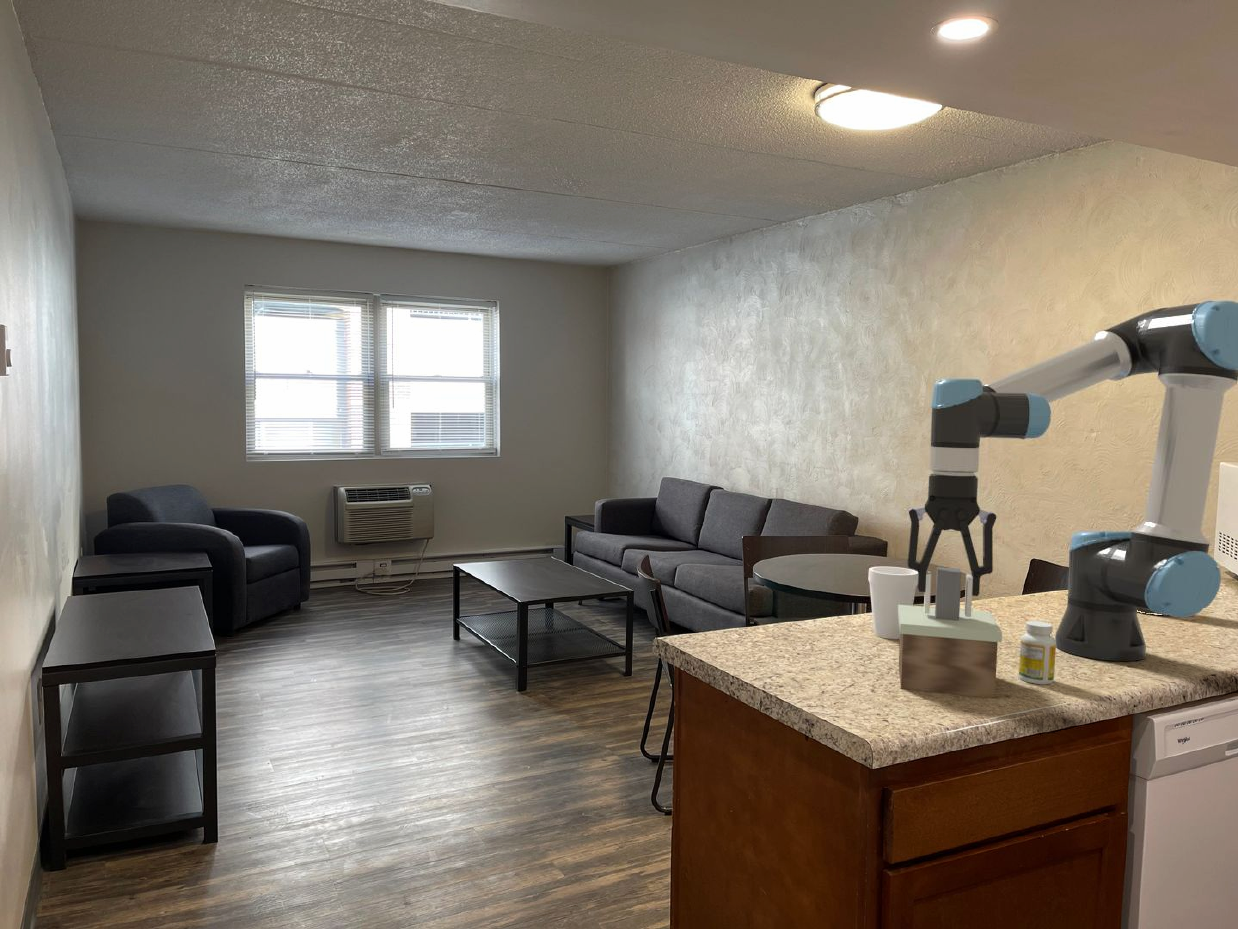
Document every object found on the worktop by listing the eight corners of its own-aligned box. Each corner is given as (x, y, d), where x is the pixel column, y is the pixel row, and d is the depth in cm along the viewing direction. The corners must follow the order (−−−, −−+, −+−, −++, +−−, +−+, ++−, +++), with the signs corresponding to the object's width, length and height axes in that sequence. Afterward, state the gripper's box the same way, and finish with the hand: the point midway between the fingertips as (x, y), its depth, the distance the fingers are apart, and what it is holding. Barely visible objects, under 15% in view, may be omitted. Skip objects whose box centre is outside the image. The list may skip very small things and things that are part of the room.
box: (984, 673, 151) (986, 621, 151) (994, 698, 138) (997, 641, 137) (898, 665, 155) (900, 614, 154) (900, 688, 142) (903, 633, 141)
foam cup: (921, 634, 177) (924, 570, 176) (906, 643, 170) (909, 577, 169) (875, 627, 183) (878, 564, 182) (859, 635, 175) (861, 570, 175)
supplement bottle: (1029, 685, 145) (1032, 627, 144) (1012, 675, 150) (1015, 619, 150) (1060, 685, 145) (1063, 627, 145) (1042, 675, 151) (1045, 620, 150)
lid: (989, 621, 151) (992, 565, 150) (1001, 642, 136) (1004, 581, 136) (897, 613, 155) (900, 559, 154) (900, 633, 141) (902, 574, 140)
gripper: (1011, 474, 145) (1004, 613, 147) (893, 469, 150) (887, 604, 152) (1018, 477, 138) (1011, 623, 139) (894, 472, 143) (888, 613, 145)
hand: (947, 613), depth 146 cm, fingers open, 6 cm apart
